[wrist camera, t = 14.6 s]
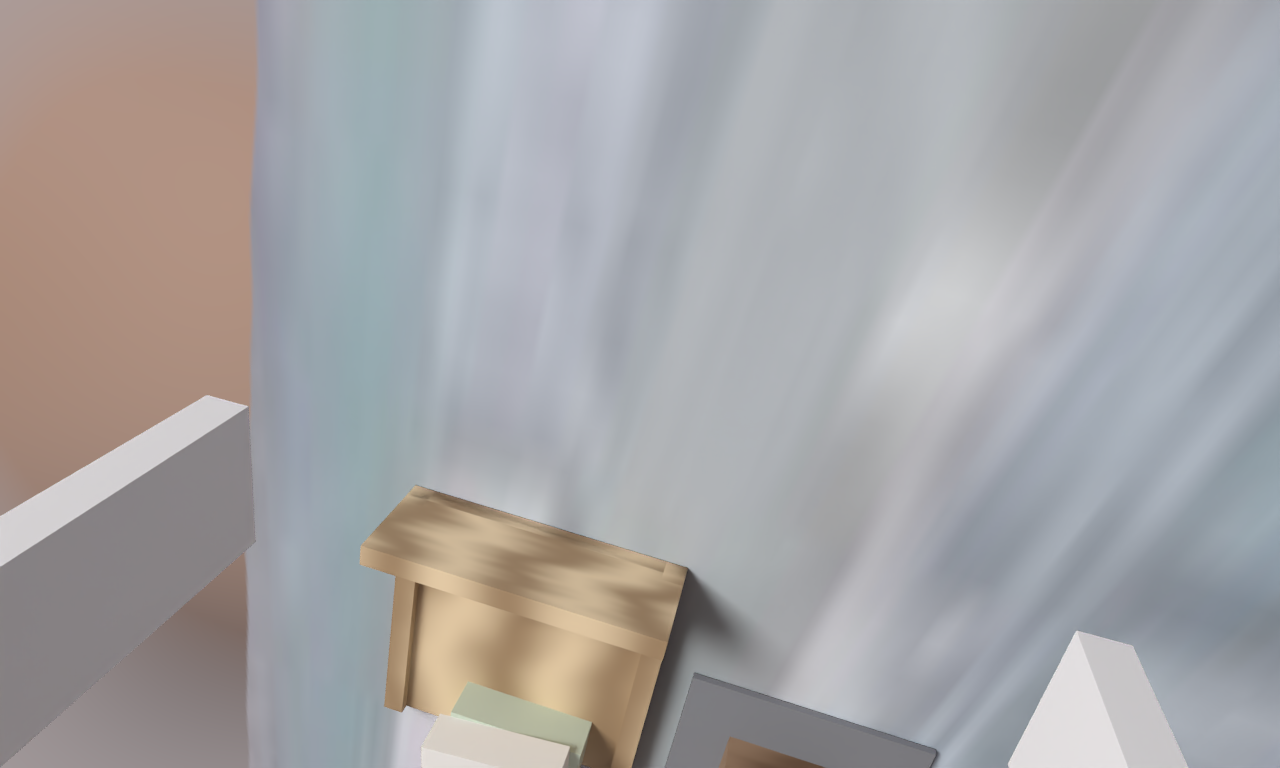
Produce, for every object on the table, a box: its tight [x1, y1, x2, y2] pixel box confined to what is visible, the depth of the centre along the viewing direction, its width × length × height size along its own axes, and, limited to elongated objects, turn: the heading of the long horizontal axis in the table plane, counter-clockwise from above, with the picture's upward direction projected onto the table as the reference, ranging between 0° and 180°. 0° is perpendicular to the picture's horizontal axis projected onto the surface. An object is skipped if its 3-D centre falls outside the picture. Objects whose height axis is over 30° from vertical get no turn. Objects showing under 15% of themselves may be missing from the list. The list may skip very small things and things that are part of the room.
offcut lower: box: [451, 681, 592, 768], centre depth 50 cm, size 8×4×2 cm, turn 77°
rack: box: [360, 485, 688, 768], centre depth 46 cm, size 16×16×6 cm
